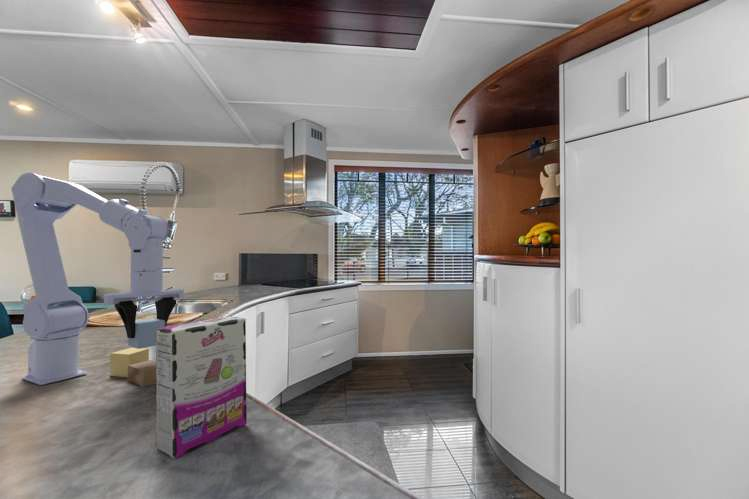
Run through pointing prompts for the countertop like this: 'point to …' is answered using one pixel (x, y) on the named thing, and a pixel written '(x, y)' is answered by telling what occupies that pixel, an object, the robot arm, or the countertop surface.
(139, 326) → the blue cube
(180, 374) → the candy bar box
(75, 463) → the countertop surface
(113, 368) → the mustard cube
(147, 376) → the walnut block
